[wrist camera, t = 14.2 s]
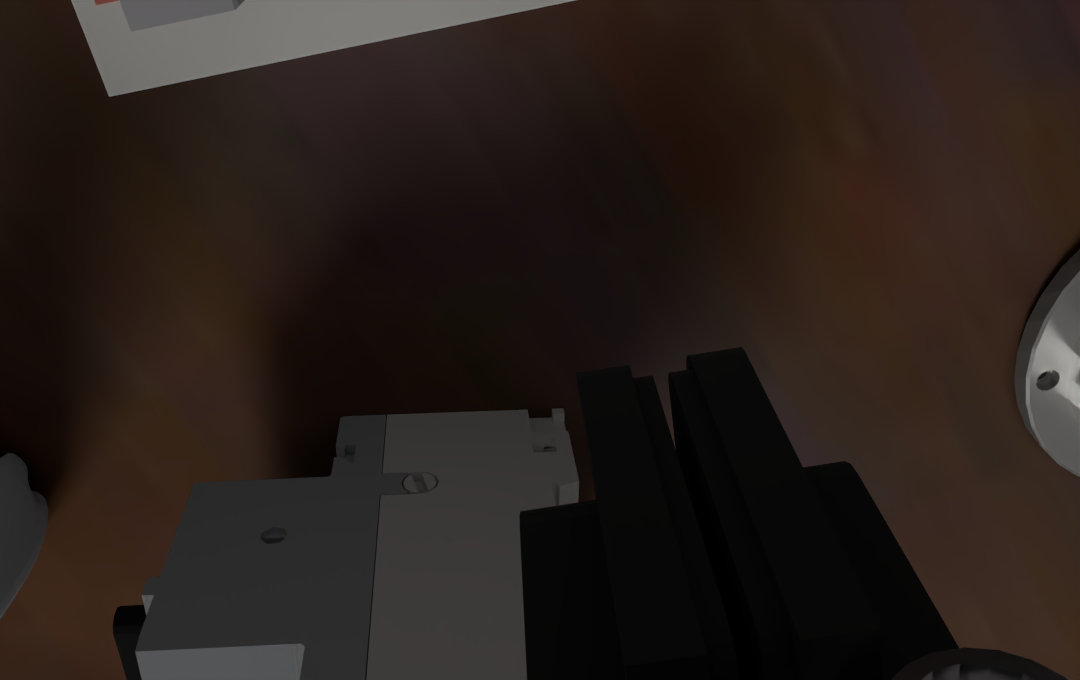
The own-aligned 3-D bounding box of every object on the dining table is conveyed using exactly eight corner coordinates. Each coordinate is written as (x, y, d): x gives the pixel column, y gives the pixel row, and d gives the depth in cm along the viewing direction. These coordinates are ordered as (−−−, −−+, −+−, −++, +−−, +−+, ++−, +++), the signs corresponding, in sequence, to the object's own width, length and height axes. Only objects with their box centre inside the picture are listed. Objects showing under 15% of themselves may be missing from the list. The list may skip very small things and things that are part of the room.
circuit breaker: (167, 422, 36) (12, 779, 23) (563, 408, 37) (634, 738, 24) (198, 583, 39) (79, 973, 26) (558, 565, 41) (617, 929, 28)
